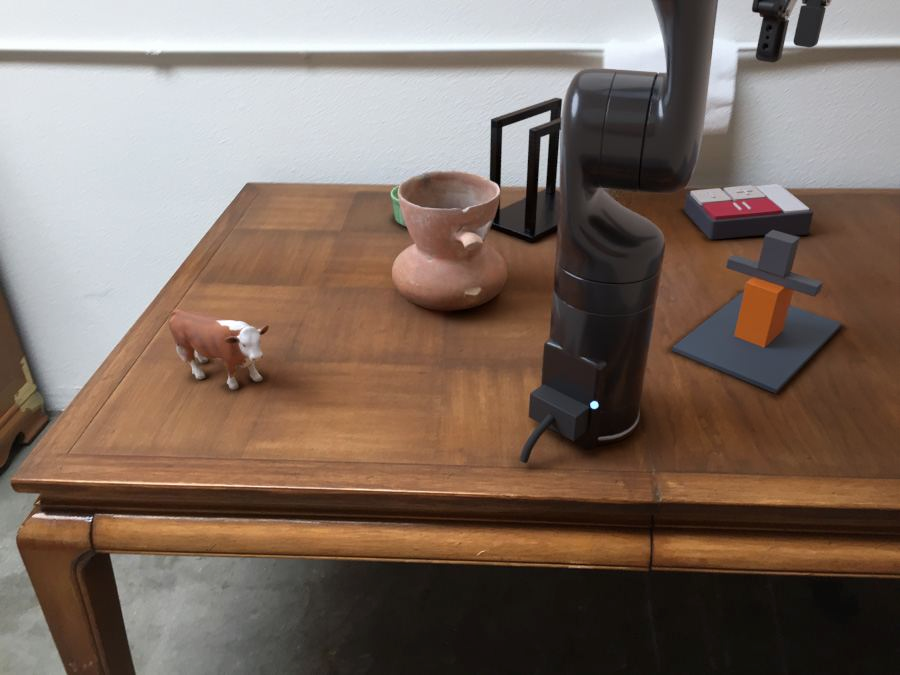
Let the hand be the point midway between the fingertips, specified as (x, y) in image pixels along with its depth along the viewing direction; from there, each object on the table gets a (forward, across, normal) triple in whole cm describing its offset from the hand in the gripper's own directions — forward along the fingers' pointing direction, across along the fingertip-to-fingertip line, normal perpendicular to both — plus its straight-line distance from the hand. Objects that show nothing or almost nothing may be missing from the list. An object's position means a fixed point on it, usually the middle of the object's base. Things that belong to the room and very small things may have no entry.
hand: (786, 53), depth 75 cm
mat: (+31, +1, +4) cm, 31 cm away
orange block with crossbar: (+30, +1, +4) cm, 30 cm away
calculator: (+31, -28, -12) cm, 44 cm away
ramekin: (+31, +4, -49) cm, 58 cm away
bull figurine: (+31, +48, -33) cm, 66 cm away
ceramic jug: (+31, +18, -30) cm, 46 cm away
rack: (+31, -9, -36) cm, 48 cm away
